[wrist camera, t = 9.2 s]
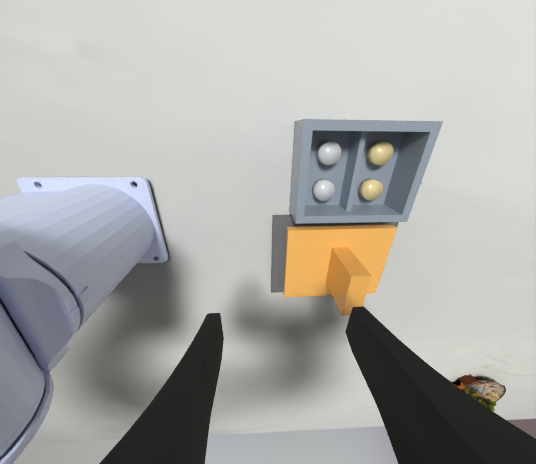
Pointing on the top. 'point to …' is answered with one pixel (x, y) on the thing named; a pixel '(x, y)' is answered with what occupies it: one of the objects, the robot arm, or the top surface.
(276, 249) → the mat
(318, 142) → the tub
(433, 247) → the top surface
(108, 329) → the top surface
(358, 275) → the lid
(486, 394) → the burger
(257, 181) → the top surface
